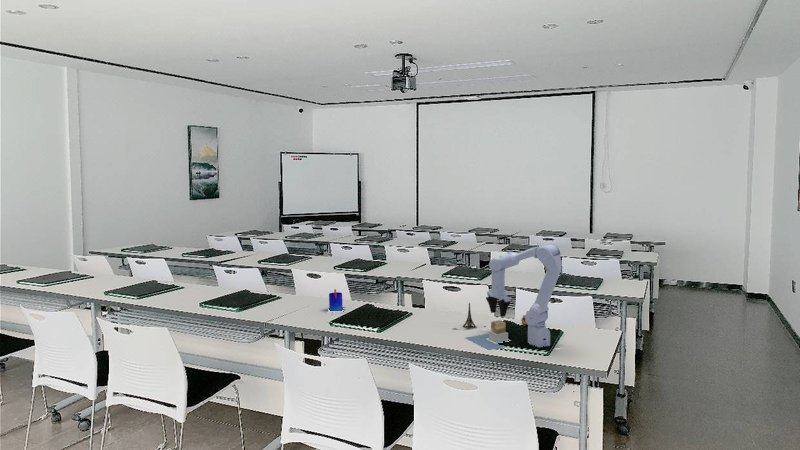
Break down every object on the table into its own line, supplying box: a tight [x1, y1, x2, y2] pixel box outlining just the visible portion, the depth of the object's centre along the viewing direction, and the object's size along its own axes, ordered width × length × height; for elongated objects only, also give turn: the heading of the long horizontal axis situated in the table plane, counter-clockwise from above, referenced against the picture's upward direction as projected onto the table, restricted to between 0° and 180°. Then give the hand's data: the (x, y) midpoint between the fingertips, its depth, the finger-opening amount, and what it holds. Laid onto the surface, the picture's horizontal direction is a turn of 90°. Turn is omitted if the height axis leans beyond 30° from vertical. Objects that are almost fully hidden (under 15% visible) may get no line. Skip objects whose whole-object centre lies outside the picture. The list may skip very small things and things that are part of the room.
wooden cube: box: [490, 319, 507, 334], centre depth 249 cm, size 4×4×4 cm
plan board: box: [464, 333, 512, 351], centre depth 248 cm, size 20×16×1 cm
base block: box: [488, 330, 509, 343], centre depth 249 cm, size 6×6×4 cm
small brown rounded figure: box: [520, 310, 529, 325], centre depth 276 cm, size 8×10×7 cm
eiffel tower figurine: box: [451, 302, 486, 331], centre depth 273 cm, size 15×10×13 cm
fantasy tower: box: [328, 288, 346, 312], centre depth 311 cm, size 12×12×12 cm
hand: (498, 314), depth 256 cm, fingers open, 7 cm apart
